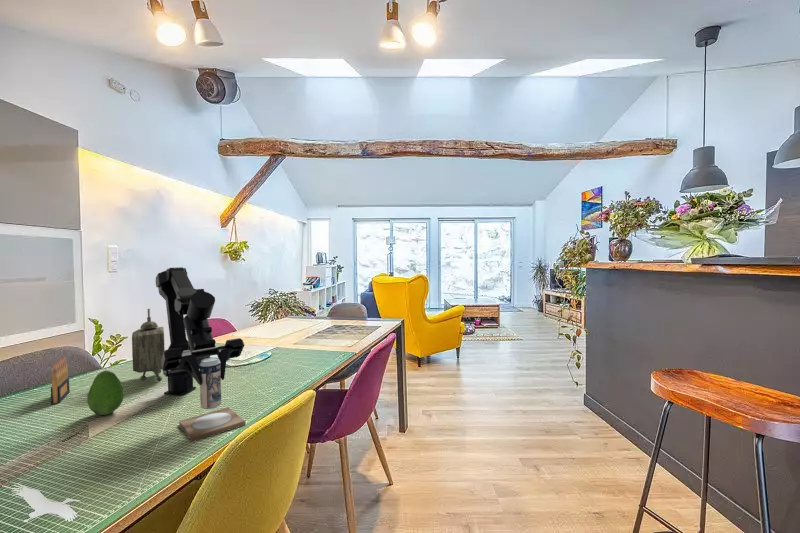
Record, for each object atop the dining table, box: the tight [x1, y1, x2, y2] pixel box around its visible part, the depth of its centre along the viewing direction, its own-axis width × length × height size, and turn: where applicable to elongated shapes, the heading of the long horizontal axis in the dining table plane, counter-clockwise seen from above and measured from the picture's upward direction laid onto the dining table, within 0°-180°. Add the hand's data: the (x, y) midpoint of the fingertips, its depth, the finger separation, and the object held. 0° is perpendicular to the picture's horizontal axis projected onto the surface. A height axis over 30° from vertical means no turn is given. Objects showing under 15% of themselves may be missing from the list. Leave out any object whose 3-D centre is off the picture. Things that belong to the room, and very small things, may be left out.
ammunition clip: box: [50, 356, 71, 406], centre depth 113 cm, size 11×2×12 cm, turn 30°
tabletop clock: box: [131, 308, 166, 382], centre depth 130 cm, size 14×9×25 cm, turn 34°
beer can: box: [199, 356, 223, 410], centre depth 93 cm, size 5×5×12 cm
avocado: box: [86, 370, 125, 416], centre depth 101 cm, size 8×8×12 cm
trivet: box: [178, 406, 246, 442], centre depth 93 cm, size 12×12×1 cm
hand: (212, 381), depth 92 cm, fingers closed on beer can, 5 cm apart
